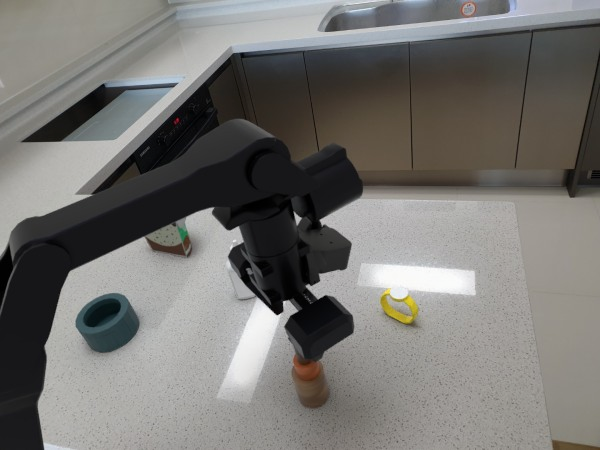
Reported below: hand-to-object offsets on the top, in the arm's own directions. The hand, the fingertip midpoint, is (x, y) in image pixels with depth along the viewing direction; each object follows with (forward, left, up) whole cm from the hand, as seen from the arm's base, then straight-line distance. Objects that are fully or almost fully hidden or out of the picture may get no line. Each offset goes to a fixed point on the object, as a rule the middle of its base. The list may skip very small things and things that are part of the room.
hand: (297, 334), depth 57 cm
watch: (+18, -1, -13) cm, 23 cm away
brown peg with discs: (0, 0, -8) cm, 8 cm away
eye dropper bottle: (+6, +23, -13) cm, 28 cm away
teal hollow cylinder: (-16, +35, -13) cm, 41 cm away
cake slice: (+4, +47, -13) cm, 49 cm away
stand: (0, 0, -13) cm, 13 cm away
